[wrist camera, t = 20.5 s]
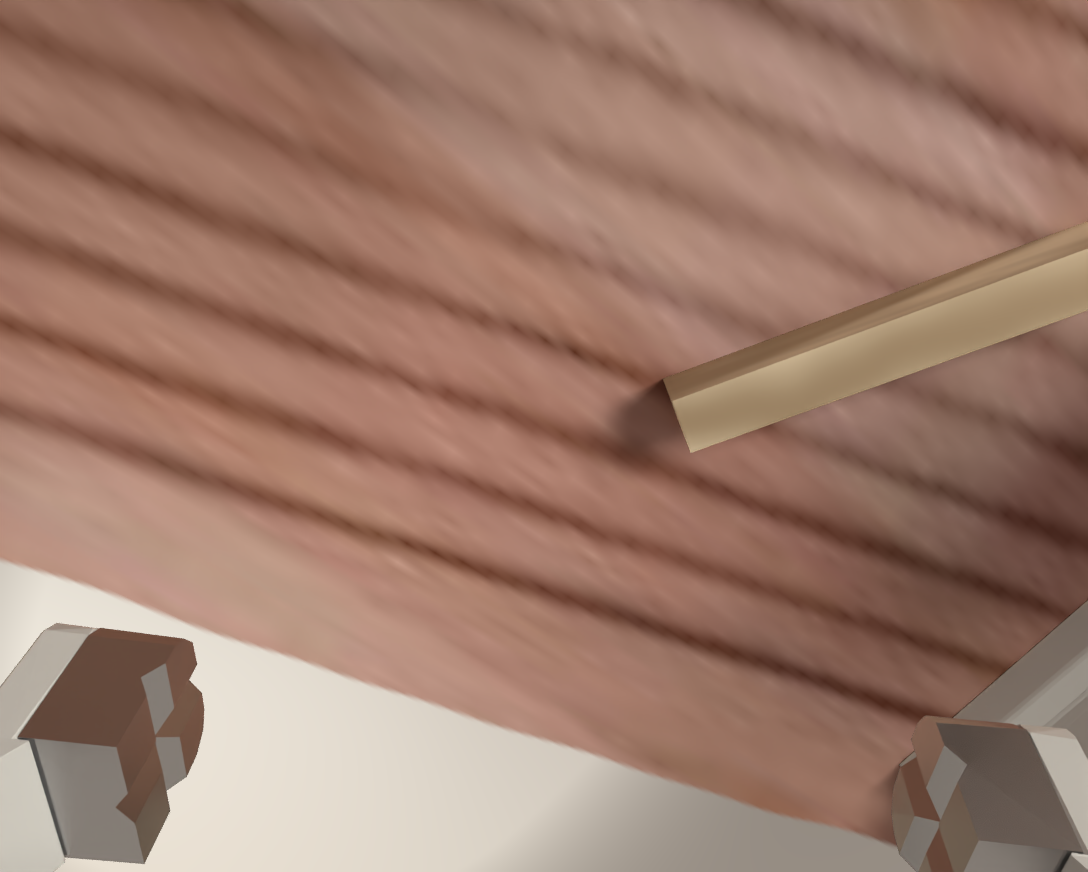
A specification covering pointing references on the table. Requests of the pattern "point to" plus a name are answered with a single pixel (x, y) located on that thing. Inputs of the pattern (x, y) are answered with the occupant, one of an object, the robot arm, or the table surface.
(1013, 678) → the grey arched block
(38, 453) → the table surface
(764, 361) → the batten
